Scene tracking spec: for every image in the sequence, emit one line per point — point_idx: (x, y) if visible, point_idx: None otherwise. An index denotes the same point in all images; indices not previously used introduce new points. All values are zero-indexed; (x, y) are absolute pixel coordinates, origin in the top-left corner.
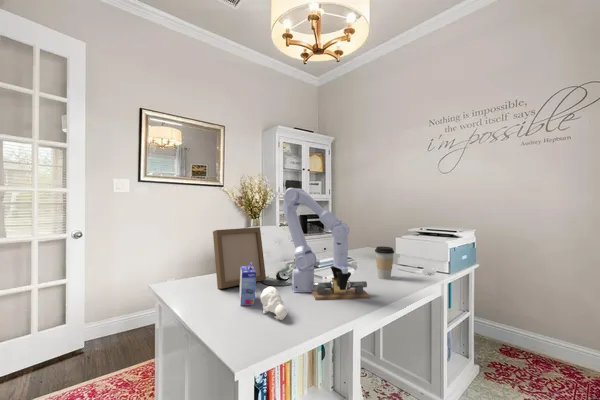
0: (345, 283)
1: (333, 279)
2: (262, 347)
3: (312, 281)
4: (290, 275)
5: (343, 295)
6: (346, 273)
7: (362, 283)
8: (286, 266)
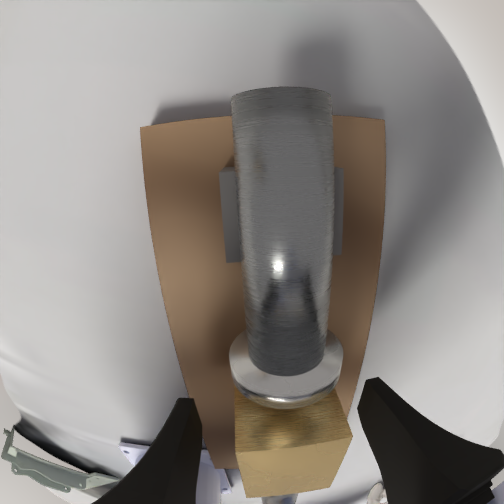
0: (406, 419)
1: (298, 492)
2: (483, 441)
3: (198, 499)
4: (72, 481)
5: (348, 354)
6: (485, 487)
7: (333, 173)
8: (19, 474)
